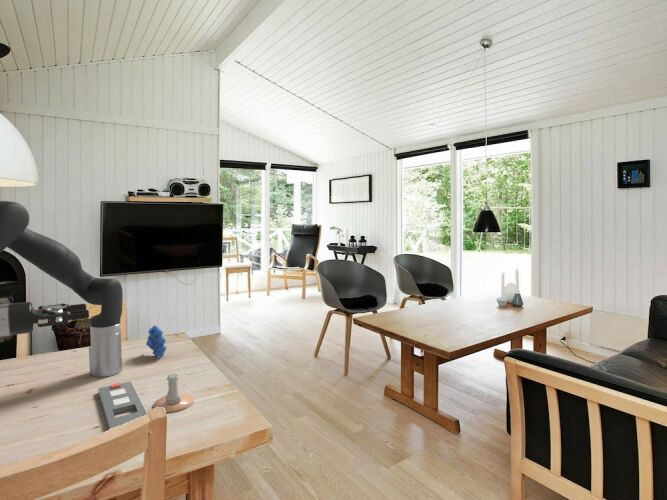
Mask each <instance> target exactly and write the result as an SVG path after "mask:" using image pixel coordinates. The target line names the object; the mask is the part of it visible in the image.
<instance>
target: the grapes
mask: <svg viewBox="0 0 667 500" xmlns="http://www.w3.org/2000/svg"><path fill="white" fill-rule="evenodd" d="M147 333H148V334H149V335H148V337H147V341H146V343H145V345H146V346H147V347H149V349H150V350H152V354H153V355H154V356H155V357H159V358H163V357H164V355H165V352H166V350H167V346H166V345H165V344H166V342H167V339H166V338H165V337H164V336H163V335H164V331H163V330H162V329H160V328H159V327H158V326H157V325H153V326H152V327H150V328H149V330H148V331H147Z"/></svg>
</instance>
